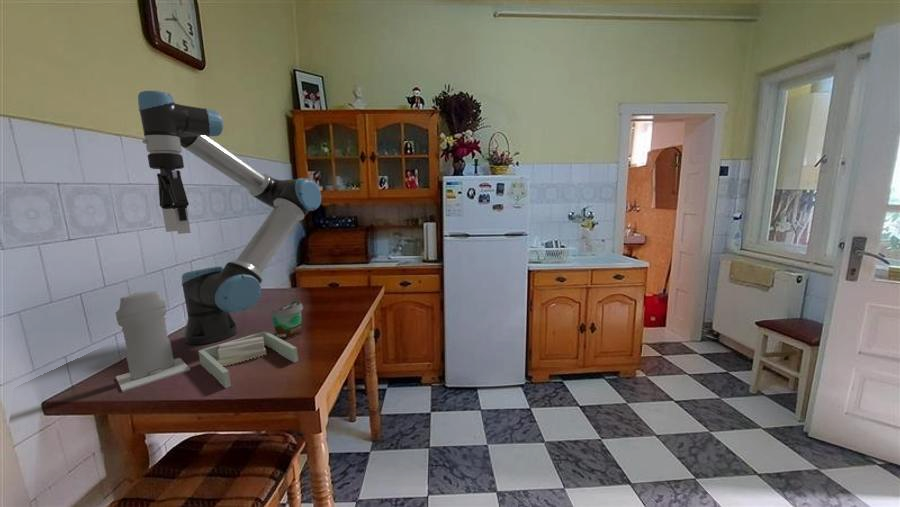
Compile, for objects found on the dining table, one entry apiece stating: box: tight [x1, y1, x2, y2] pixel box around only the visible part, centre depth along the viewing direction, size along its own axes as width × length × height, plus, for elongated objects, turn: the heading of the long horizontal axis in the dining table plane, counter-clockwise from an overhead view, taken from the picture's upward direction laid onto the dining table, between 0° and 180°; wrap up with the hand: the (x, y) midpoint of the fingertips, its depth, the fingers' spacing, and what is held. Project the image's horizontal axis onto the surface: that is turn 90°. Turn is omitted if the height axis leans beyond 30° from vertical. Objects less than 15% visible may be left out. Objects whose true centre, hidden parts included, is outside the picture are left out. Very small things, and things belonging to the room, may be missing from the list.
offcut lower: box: [216, 346, 267, 367], centre depth 107 cm, size 6×12×2 cm, turn 126°
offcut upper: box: [218, 337, 265, 359], centre depth 106 cm, size 5×11×2 cm, turn 115°
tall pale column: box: [115, 290, 174, 380], centre depth 97 cm, size 11×4×22 cm, turn 150°
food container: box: [270, 299, 304, 340], centre depth 123 cm, size 12×6×10 cm, turn 168°
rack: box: [198, 330, 299, 389], centre depth 103 cm, size 21×18×4 cm
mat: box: [115, 357, 191, 393], centre depth 99 cm, size 11×14×1 cm
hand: (177, 232), depth 103 cm, fingers open, 13 cm apart
